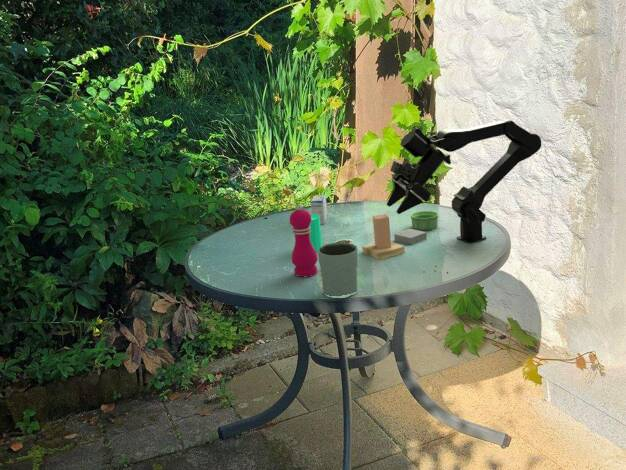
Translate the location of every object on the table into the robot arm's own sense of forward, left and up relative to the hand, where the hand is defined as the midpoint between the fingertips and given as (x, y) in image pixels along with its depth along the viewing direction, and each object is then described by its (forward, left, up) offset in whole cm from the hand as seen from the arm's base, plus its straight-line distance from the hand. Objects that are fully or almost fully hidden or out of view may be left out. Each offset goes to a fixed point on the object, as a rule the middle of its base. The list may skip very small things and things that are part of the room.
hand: (392, 209), depth 198 cm
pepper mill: (0, +30, -13) cm, 32 cm away
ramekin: (+14, -20, -13) cm, 28 cm away
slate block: (+6, -9, -13) cm, 17 cm away
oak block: (+1, +4, -13) cm, 14 cm away
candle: (+18, +19, -13) cm, 29 cm away
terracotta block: (+1, +3, -11) cm, 11 cm away
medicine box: (+45, +3, -13) cm, 47 cm away
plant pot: (-19, +29, -13) cm, 37 cm away
